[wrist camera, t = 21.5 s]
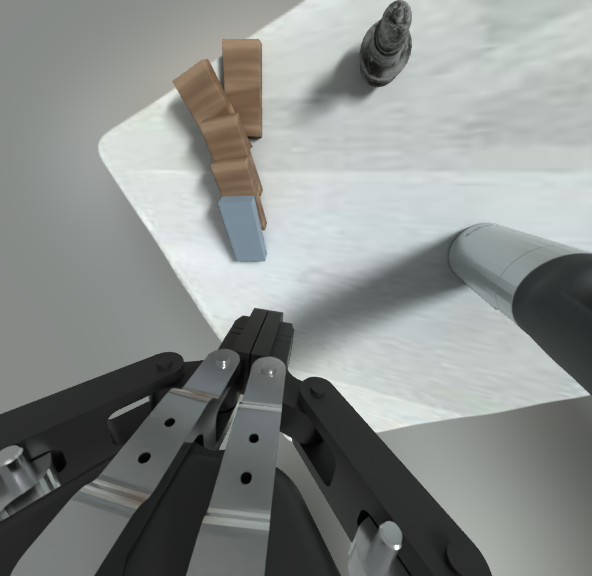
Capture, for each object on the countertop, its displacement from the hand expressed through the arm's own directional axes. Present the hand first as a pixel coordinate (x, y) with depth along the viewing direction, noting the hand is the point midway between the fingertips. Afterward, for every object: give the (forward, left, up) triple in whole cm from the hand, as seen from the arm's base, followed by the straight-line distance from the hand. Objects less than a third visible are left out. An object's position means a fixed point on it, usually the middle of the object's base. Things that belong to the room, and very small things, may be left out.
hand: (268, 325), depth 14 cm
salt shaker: (+16, -16, -33) cm, 40 cm away
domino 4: (+4, +10, -32) cm, 34 cm away
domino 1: (+16, +5, -33) cm, 37 cm away
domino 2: (+14, +7, -31) cm, 35 cm away
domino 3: (+9, +8, -32) cm, 34 cm away
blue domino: (-1, +13, -32) cm, 34 cm away
